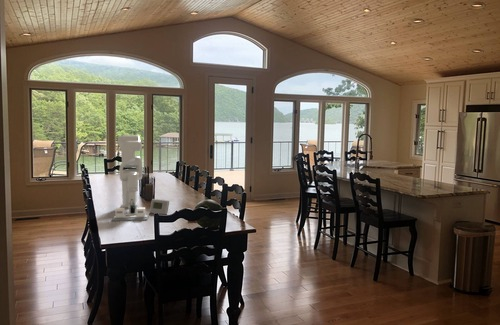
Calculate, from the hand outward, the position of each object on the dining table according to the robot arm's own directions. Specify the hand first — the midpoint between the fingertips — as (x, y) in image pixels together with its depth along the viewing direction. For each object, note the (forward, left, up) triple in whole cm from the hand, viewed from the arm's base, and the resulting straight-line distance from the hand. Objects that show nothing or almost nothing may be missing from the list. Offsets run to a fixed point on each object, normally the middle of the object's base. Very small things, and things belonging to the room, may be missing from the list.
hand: (133, 211), depth 312 cm
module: (0, 0, -2) cm, 2 cm away
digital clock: (-2, +20, -2) cm, 20 cm away
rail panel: (+13, 0, -2) cm, 13 cm away
